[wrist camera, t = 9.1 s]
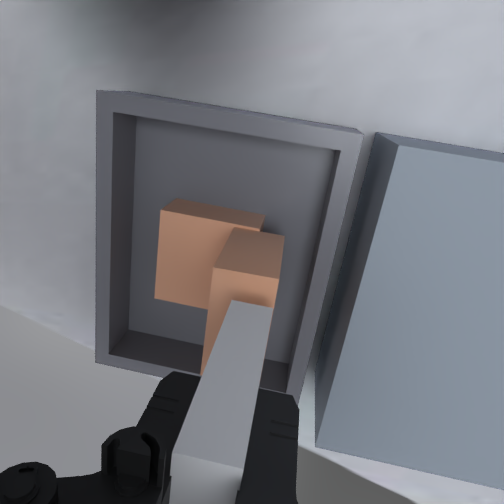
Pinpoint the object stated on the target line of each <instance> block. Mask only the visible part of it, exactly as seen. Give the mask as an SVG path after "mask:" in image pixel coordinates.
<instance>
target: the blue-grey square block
mask: <svg viewBox="0 0 504 504" xmlns="http://www.w3.org/2000/svg"><path fill="white" fill-rule="evenodd" d="M315 447H318V448H322V449H326V450H331V451H335V452H339V453H344V454H348V455H353V456H357V457H361V458H366V459H370V460H374V461H379V462H383V463H387V464H392V465H396V466H401V467H405V468H409V469H414V470H418V471H422V472H427V473H431V474H435V475H440V476H444V477H449V478H453V479H457V480H462V481H466V482H470V483H475V484H479V485H483V486H488V487H492V488H497V489H501V490H504V153H499V152H493V151H487V150H481V149H475V148H469V147H463V146H457V145H451V144H445V143H439V142H433V141H427V140H421V139H415V138H409V137H403V136H397V135H390V134H384V133H378V132H376V134H375V138H374V142H373V146H372V150H371V154H370V158H369V162H368V166H367V170H366V174H365V177H364V181H363V185H362V189H361V193H360V197H359V201H358V205H357V209H356V213H355V217H354V221H353V225H352V229H351V233H350V236H349V240H348V244H347V248H346V252H345V256H344V260H343V264H342V268H341V272H340V276H339V280H338V284H337V288H336V292H335V295H334V299H333V303H332V307H331V311H330V315H329V319H328V323H327V327H326V331H325V335H324V339H323V343H322V347H321V351H320V354H319V358H318V362H317V366H316V370H315Z"/></svg>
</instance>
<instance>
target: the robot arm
mask: <svg viewBox="0 0 504 504" xmlns="http://www.w3.org/2000/svg"><path fill="white" fill-rule="evenodd" d="M272 312H273V308H270V307H265V306H260V305H255V304H250V303H245V302H240V301H235V300H231V303H230V305H229V308H228V310H227V313H226V316H225V318H224V321H223V323H222V326H221V328H220V331H219V333H218V336H217V339H216V341H215V344H214V346H213V349H212V351H211V354H210V357H209V359H208V362H207V364H206V367H205V369H204V372H203V374H202V377H200V376H195V375H191V374H186V373H181V372H177V371H172V372H171V373H170V374H168V375H167V376H166V377H165V378H163V379H162V380H161V381H160V382H159V384H158V386H157V388H156V390H155V392H154V394H153V397H152V398H151V400H150V401H149V403H148V405H147V408H146V409H145V411H144V413H143V415H142V416H141V418H140V420H139V422H138V424H137V426H136V427H129V428H125V429H121V430H119V431H117V432H115V433H114V434H112V435H110V436H109V437H108V438H107V439H106V441H105V442H104V443H103V444H102V454H101V457H102V458H101V460H102V461H101V466H102V467H101V471H99V472H97V473H94V474H90V475H84V476H75V477H63V478H56V474H55V472H54V471H53V470H52V469H51V468H50V467H49V466H48V465H46V464H42V463H39V462H28V463H21V464H18V465H15V466H12V467H10V468H8V469H6V470H5V471H3V472H2V473H0V504H298V502H297V499H296V472H297V448H298V426H299V408H298V406H297V404H296V402H295V399H294V397H293V395H289V394H284V393H280V392H275V391H270V390H266V389H261V388H259V383H260V378H261V372H262V367H263V361H264V356H265V350H266V345H267V340H268V334H269V329H270V323H271V318H272Z"/></svg>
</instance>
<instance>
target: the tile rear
mask: <svg viewBox="0 0 504 504" xmlns="http://www.w3.org/2000/svg"><path fill="white" fill-rule="evenodd" d="M265 216H266V215H263V214H257V213H252V212H247V211H242V210H236V209H231V208H226V207H221V206H215V205H210V204H205V203H199V202H194V201H189V200H184V199H178V198H176V199H175V200H173V201H172V202H171V203H169V204H168V205H167V206H165V207H164V208H162V209H161V211H160V226H159V240H158V254H157V268H156V282H155V296H154V298H155V299H160V300H165V301H170V302H174V303H179V304H184V305H189V306H193V307H198V308H203V309H208V306H209V298H210V289H211V281H212V273H213V267H214V265H215V263H216V261H217V259H218V257H219V255H220V253H221V251H222V249H223V247H224V245H225V244H226V242H227V240H228V238H229V236H230V234H231V232H232V230H233V228H234V227H238V228H243V229H249V230H255V231H260V232H263V227H264V222H265Z"/></svg>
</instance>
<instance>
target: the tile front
mask: <svg viewBox="0 0 504 504" xmlns="http://www.w3.org/2000/svg"><path fill="white" fill-rule="evenodd" d="M284 239H285V236H283V235H277V234H272V233H266V232H260V231H255V230H249V229H243V228H238V227H234V228H233V230H232V232H231V234H230V236H229V238H228V240H227V242H226V244H225V245H224V247H223V249H222V251H221V253H220V255H219V257H218V259H217V261H216V263H215V265H214V267H213V273H212V281H211V289H210V298H209V306H208V314H207V322H206V331H205V339H204V347H203V356H202V364H201V372H200V375H202V374H203V372H204V369H205V367H206V364H207V362H208V359H209V357H210V354H211V351H212V349H213V346H214V344H215V341H216V339H217V336H218V333H219V331H220V328H221V326H222V323H223V321H224V318H225V316H226V313H227V310H228V308H229V305H230V303H231V300H235V301H240V302H245V303H250V304H255V305H260V306H265V307H270V308H273V310H274V305H275V300H276V294H277V289H278V284H279V278H280V270H281V262H282V255H283V247H284ZM272 315H273V312H272ZM271 321H272V318H271ZM270 326H271V323H270ZM269 331H270V329H269ZM268 336H269V334H268ZM267 342H268V340H267ZM266 347H267V345H266ZM265 352H266V350H265ZM264 357H265V356H264ZM263 363H264V361H263ZM262 368H263V367H262ZM261 373H262V372H261ZM259 384H260V383H259Z"/></svg>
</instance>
